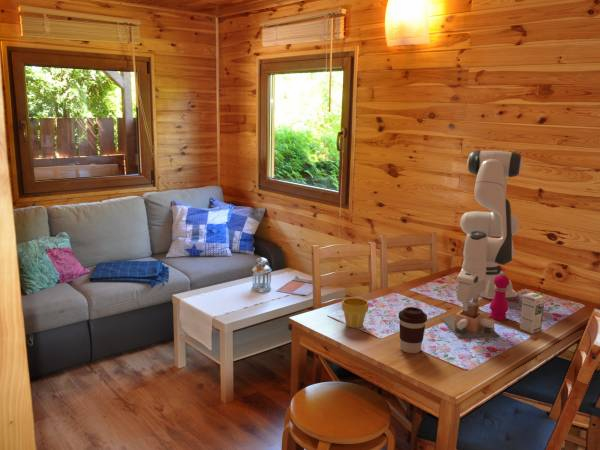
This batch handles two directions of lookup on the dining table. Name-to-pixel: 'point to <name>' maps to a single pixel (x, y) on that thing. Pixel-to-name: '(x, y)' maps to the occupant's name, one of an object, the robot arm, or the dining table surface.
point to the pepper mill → (499, 298)
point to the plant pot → (354, 311)
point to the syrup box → (532, 312)
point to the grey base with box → (470, 326)
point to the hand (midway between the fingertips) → (470, 306)
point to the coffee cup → (412, 329)
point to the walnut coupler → (471, 310)
